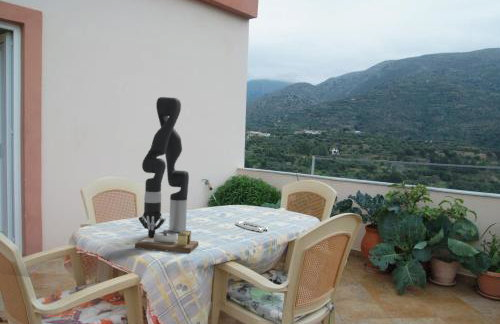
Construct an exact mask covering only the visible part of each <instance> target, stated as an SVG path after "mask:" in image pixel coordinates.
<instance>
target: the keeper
mask: <svg viewBox="0 0 500 324" xmlns="http://www.w3.org/2000/svg"><path fill="white" fill-rule="evenodd" d="M191 241H192V230H185V231H184V230H183V231H181V232H177V246H187V243H191Z"/></svg>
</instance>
